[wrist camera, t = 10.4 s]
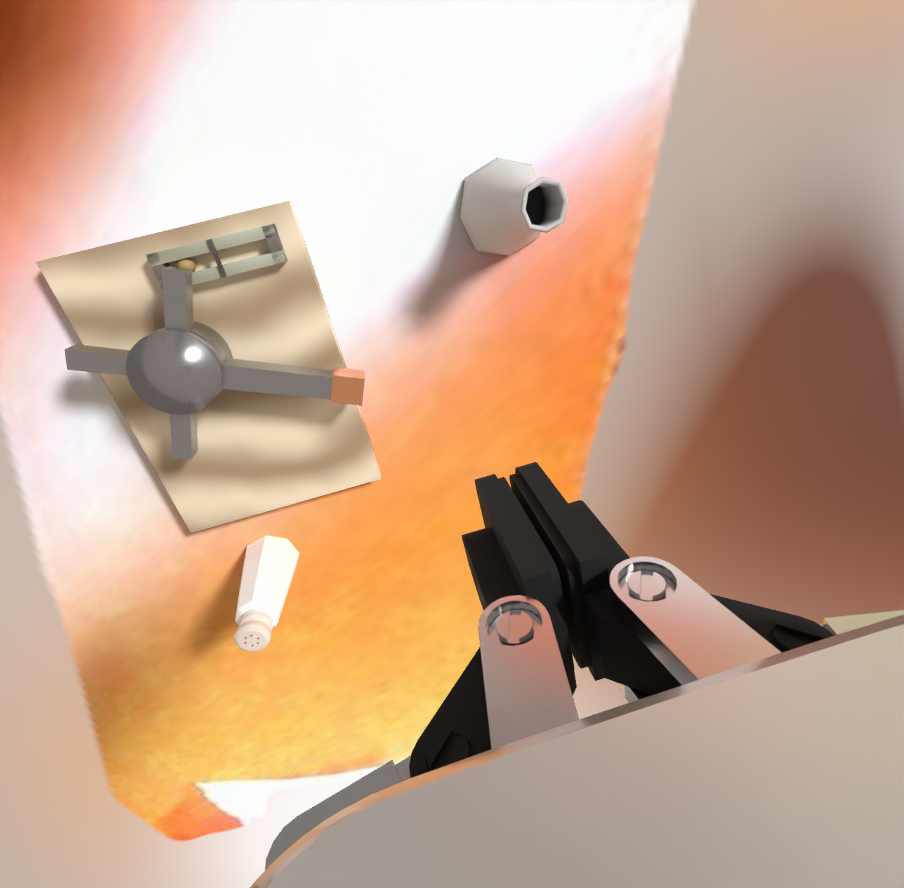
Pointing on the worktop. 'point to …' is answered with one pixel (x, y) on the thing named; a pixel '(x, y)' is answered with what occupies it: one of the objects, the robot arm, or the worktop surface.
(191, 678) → the worktop surface
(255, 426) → the wooden flat board
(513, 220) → the flask
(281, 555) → the pepper shaker
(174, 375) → the capstan
